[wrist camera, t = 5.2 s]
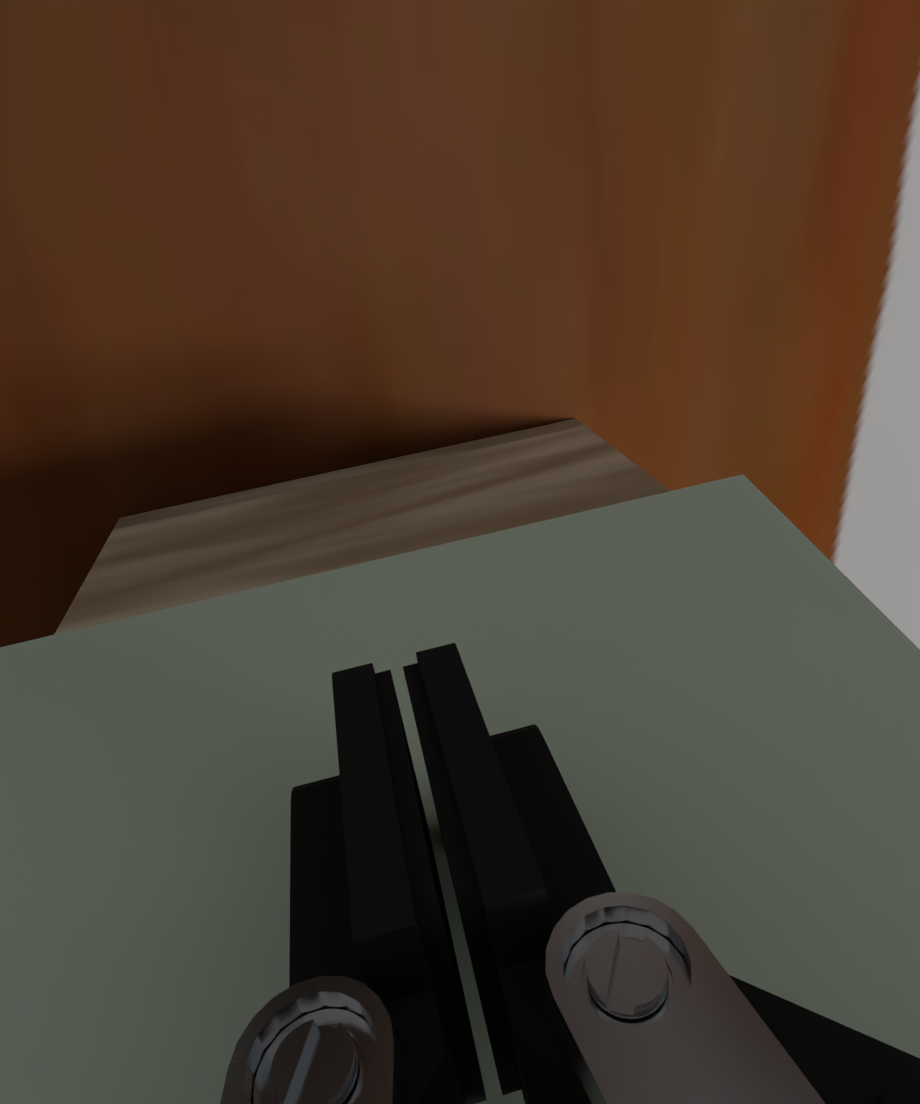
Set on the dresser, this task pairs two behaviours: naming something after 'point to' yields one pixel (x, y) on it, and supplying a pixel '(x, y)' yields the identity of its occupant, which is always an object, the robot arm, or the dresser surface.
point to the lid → (506, 704)
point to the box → (351, 518)
